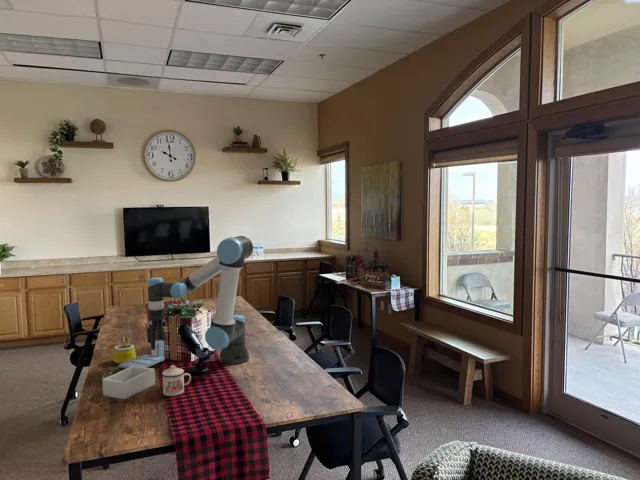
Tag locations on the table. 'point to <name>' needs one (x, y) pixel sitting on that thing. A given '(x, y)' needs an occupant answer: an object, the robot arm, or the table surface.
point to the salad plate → (112, 372)
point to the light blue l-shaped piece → (146, 358)
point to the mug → (124, 352)
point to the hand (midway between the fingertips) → (157, 354)
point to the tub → (128, 382)
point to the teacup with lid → (174, 381)
